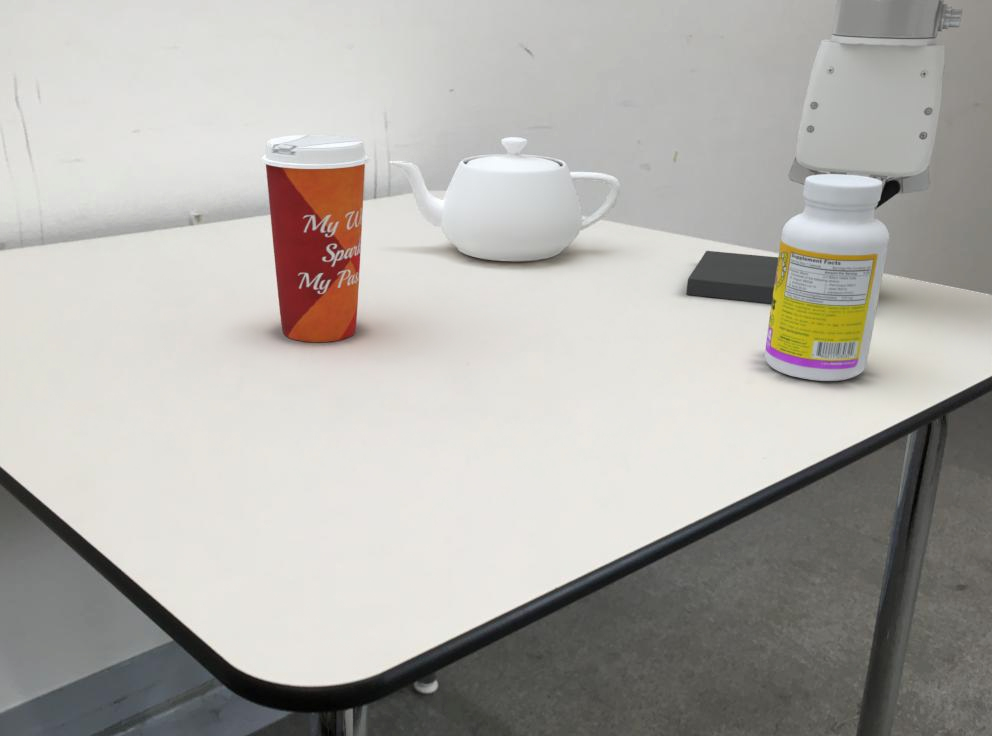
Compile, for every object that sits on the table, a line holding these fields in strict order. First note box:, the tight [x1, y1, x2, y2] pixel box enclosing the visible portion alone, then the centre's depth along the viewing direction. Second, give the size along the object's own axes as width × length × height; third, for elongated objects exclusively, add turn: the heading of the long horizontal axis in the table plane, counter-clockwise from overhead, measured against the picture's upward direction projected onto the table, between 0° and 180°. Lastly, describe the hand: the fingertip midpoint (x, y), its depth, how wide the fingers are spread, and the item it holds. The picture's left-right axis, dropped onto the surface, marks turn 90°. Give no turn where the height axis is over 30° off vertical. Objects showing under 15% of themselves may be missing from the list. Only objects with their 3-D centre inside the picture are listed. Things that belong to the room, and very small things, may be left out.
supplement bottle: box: [764, 173, 890, 382], centre depth 73 cm, size 7×7×13 cm
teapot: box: [388, 136, 621, 262], centre depth 104 cm, size 22×14×11 cm, turn 88°
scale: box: [685, 250, 779, 305], centre depth 94 cm, size 15×11×3 cm
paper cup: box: [260, 134, 370, 343], centre depth 80 cm, size 8×8×14 cm
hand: (843, 256), depth 92 cm, fingers closed
